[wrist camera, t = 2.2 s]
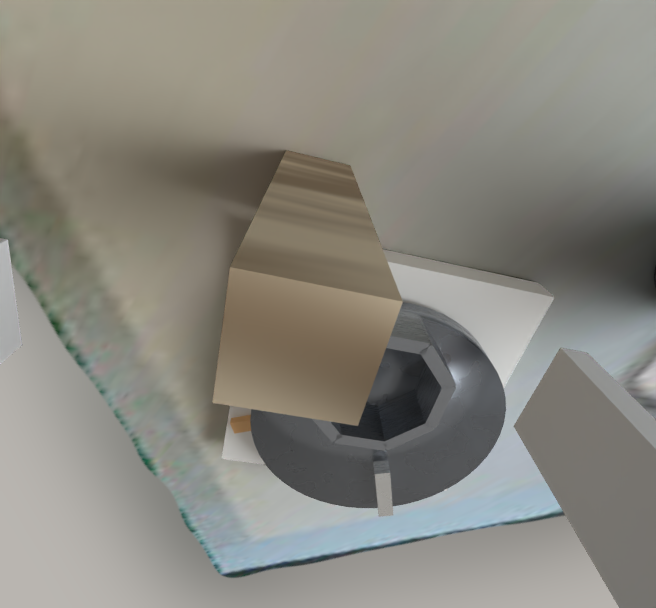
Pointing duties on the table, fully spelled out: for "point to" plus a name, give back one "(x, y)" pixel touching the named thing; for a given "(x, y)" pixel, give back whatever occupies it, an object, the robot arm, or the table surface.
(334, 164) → the stick
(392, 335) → the dial
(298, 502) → the table surface
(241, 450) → the plate
